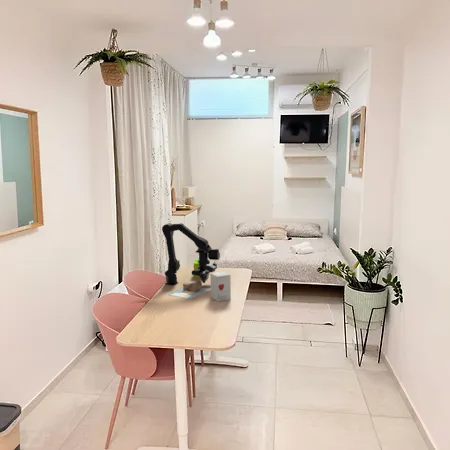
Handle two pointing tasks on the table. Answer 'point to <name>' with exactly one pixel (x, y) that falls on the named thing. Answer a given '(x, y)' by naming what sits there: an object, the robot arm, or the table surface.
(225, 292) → the supplement box
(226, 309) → the table surface
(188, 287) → the tee
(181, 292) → the mat
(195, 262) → the puzzle toy
